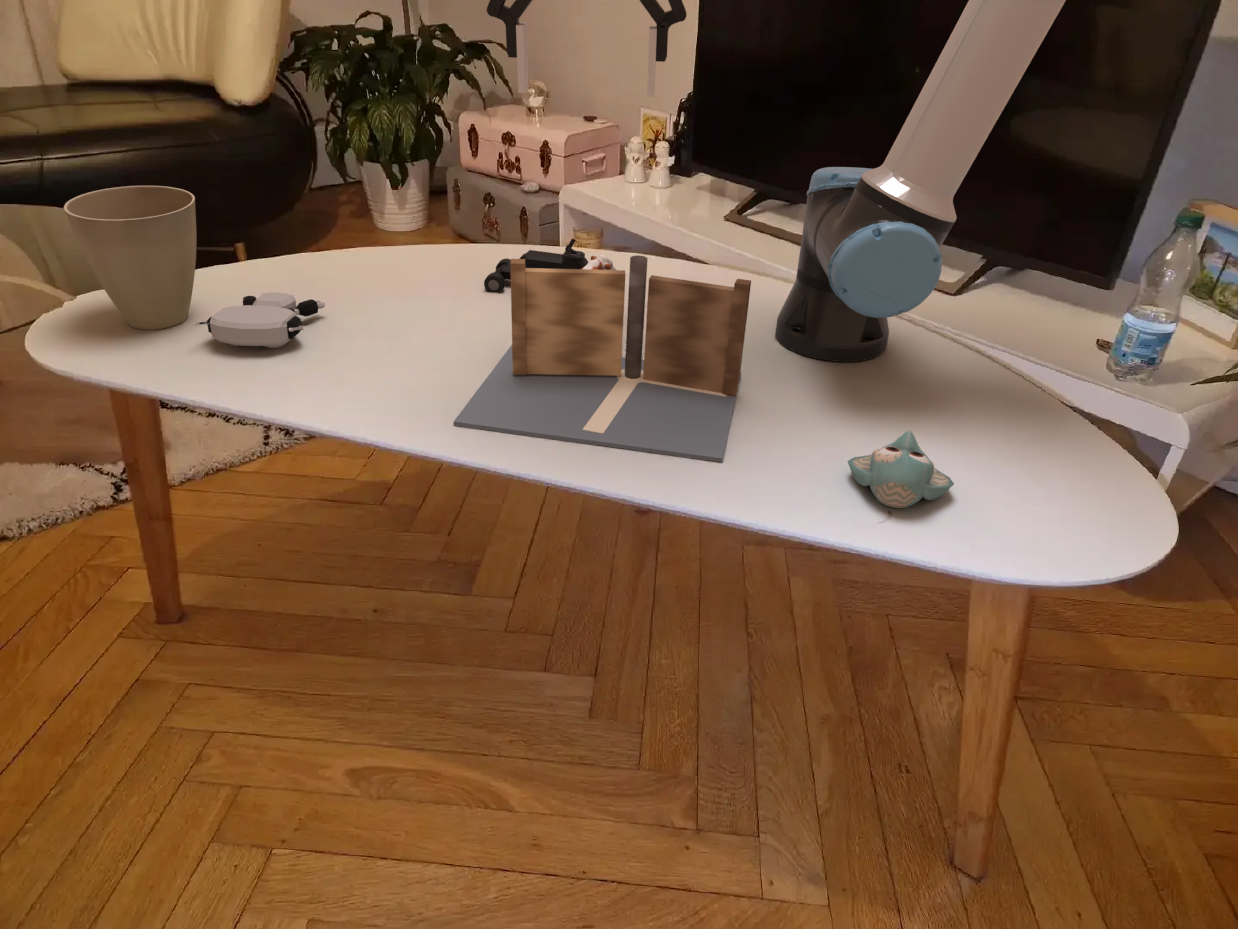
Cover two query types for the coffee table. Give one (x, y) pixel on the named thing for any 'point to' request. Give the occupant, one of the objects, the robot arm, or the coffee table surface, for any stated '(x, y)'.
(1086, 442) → the coffee table surface
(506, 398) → the board
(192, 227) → the plant pot
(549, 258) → the toy vehicle
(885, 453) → the stuffed animal
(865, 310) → the robot arm
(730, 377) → the rod
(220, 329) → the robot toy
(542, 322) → the fence panel
